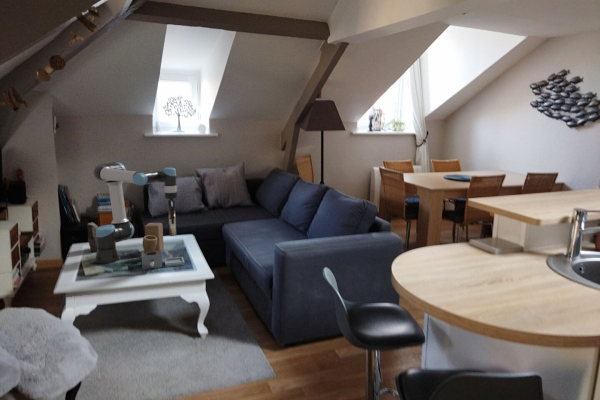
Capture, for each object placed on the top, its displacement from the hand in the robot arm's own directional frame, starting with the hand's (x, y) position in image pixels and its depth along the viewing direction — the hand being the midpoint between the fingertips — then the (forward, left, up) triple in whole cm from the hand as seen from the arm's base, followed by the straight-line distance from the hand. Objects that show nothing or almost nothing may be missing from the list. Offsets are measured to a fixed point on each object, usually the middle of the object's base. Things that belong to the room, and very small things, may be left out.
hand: (172, 227), depth 296 cm
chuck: (-14, -3, -24) cm, 28 cm away
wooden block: (-11, +35, -24) cm, 44 cm away
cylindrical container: (0, 0, -5) cm, 5 cm away
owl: (-50, +52, -24) cm, 76 cm away
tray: (0, 0, -24) cm, 24 cm away
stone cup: (-15, +21, -24) cm, 35 cm away
